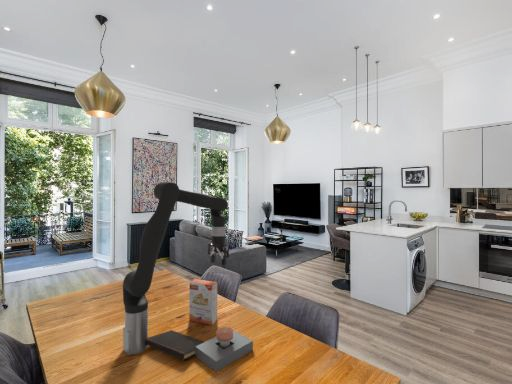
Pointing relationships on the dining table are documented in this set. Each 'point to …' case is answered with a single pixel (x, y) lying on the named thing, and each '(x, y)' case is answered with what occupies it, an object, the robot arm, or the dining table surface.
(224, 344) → the knob
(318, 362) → the dining table surface
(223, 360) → the mount
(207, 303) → the cracker box
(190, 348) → the hardcover book
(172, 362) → the dining table surface
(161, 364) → the dining table surface
